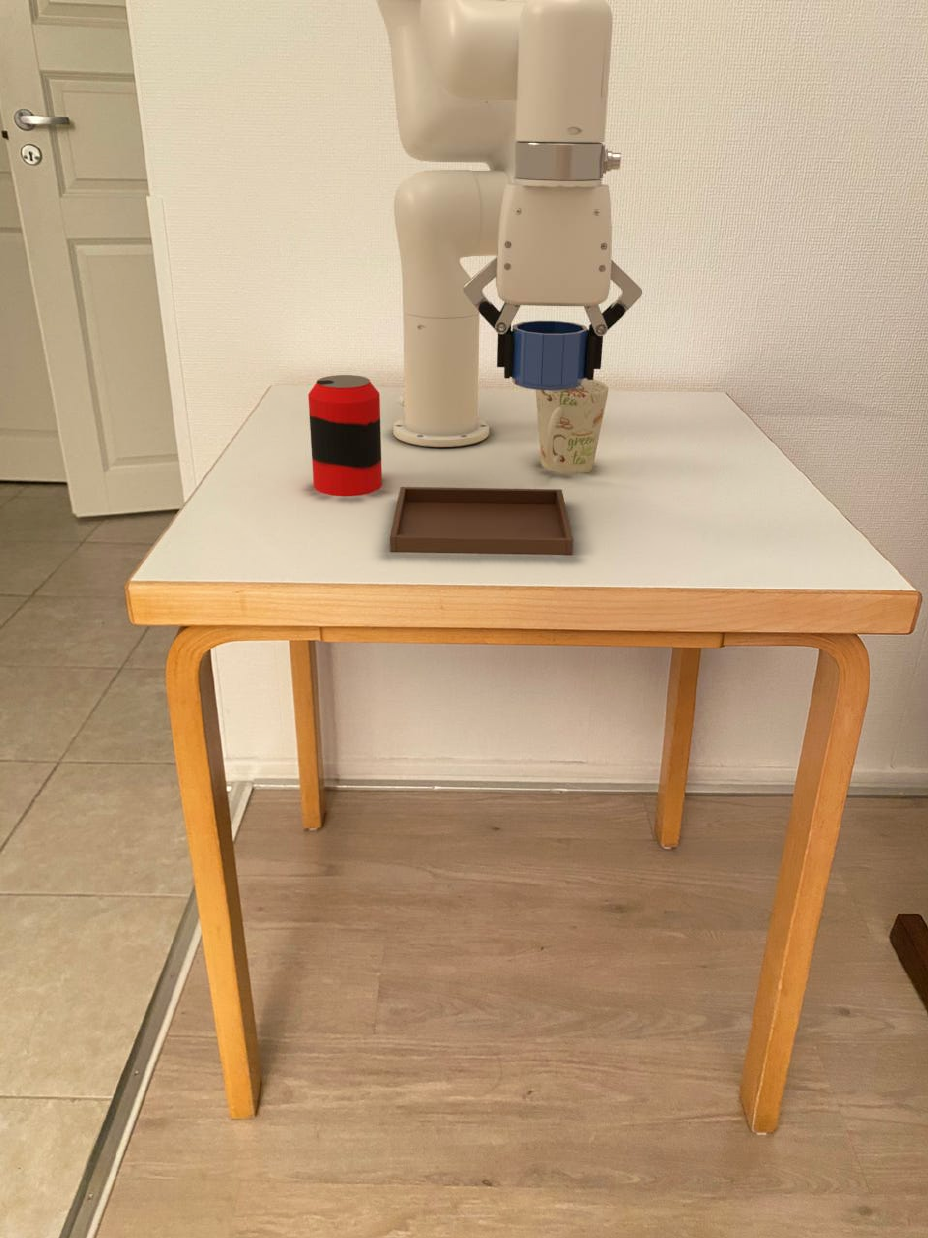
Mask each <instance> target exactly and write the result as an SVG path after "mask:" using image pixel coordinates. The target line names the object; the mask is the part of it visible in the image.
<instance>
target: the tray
mask: <svg viewBox="0 0 928 1238" xmlns="http://www.w3.org/2000/svg"><path fill="white" fill-rule="evenodd" d="M571 528H572V527H571V525H570V520H569V516H568V511H567V507H566V502H565V498H564V493H563V490H562V489H561V488H559V489H557V488H554V489H552V488H500V487H499V488H497V487H496V488H494V487H491V488H490V487H440V486H439V487H436V486H435V487H433V486H428V487H427V486H423V487H422V486H400V487H399V492H398V497H397V502H396V506H395V512H394V515H393V519H392V526H391V529H390V530H391V531H390V535H389V552H390V553H414V554H415V553H418V554H419V553H420V554H423V553H424V554H468V555H469V554H471V555H472V554H473V555H475V554H477V555H478V554H479V555H481V554H482V555H531V556H533V555H536V556H537V555H539V556H540V555H541V556H573V551H574V537H573V534H572V529H571Z"/></svg>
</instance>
